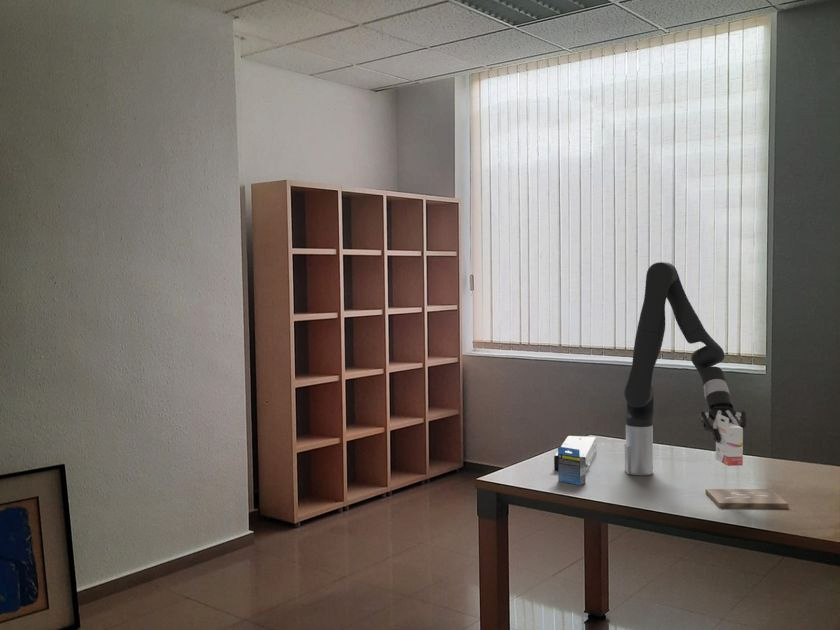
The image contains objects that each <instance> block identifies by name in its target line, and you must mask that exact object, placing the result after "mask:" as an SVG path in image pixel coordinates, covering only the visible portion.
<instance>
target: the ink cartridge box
mask: <svg viewBox="0 0 840 630" xmlns="http://www.w3.org/2000/svg"><path fill="white" fill-rule="evenodd" d="M721 419H723V420H725V422H723V421H721ZM717 425H718V426H717V429H718V431H719V435H720V442H719V443H717V442H716V441H715V460H716V461H718V462H720V463H722V464H724V465H726V466H727V467H732V466H733V467H736V466H738V467H739V466H741V467H742V466H743V465H744V461H743V460H744V456H743V455H744V452H743V451H744V449H743V447H744V444H743V443H744V441H743V440H744V431H743V428H742V427H739V426H740V425H739V426H737V425H734V424H732V423H729V418H727V417H725V416H722V415H720V414H717Z"/></svg>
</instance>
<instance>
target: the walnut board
mask: <svg viewBox="0 0 840 630" xmlns="http://www.w3.org/2000/svg"><path fill="white" fill-rule="evenodd" d="M705 495H706V496H707V497H708V498H710V500H711V501H712V502H713V503H714V504H715V506H716V507H718V509H789V502H787V501H786V500H784V498H782V497H781V496H780V495H778V494H777V493H776V492H775V491H773V490H772V489H769V488H706V489H705Z"/></svg>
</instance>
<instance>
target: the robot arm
mask: <svg viewBox="0 0 840 630" xmlns="http://www.w3.org/2000/svg"><path fill="white" fill-rule="evenodd" d="M667 301H668V303H669V305H670V307H671V310H672V312H673V316H674V318H675V322H676V324H677V325H678V327H679V329H680V331H681V333H682V335H683V337H684V338H685V340H686V342H687V343H688V344H696V343H702V344H704V346H703V347H700V348H699V349H696V350H694V351H693V352H692V353H691V356H690V359H691V363H692V364H693V366H694V367H695V369H696V371H697V372H698V374H699V376H700V378H701V382H702V386H703V394H704V398H705V401H706V405H707V412H705V411H701V412H700V415H699V420H700V421H701V423H702V427H703V428H704V430H705V431H706V432H711V433H712V436H713V440H714V442H715V443H716V442H717V443H719V442H720V435H719V431H718V429H717V426H718V425H717V414H720V415H722V416H725V417H727V418H729V423H732V424H734V425H737V426H739V427H742V428H743V432H744V431H745V429H746V427H747V418H746V417H747V416H746V415H747V414H746V412H745V411H741V412H740V411H739V412H738V411H736V410H735V408H734V405H733V402H732V398H731V397H732V396H731V394H730V390H729V387H728V385H727V382H726V379H725V374H724V371H723V370H722V368H720V367H719V366H715V365H718V364H720V363H722V362H723V361H724V359H725V352H724V349H723V348H722V347H721V346H720V345H719V344H718V343H717V342H716V341H715V340H714V339H713V337H711V335H710V334H709V333H708V332H707V330H706V329H705V327H704V325H703V324H702V321H701V319H700V318H699V316H698V314H697V313H696V311H695V310H694V307H693V306H692V304H691V302H690V300H689V298H688V296H687V294H686V292H685V290H684V287H683V285H682V281H681V279H680V276H679V273H678V270H677V268H676V266H675V265H674V264H672V263H670V262H666V261H657V262H654V263H652V264H651V265H650V266H649V268H648V270H647V271H646V277H645V289H644V296H643V302H642V303H643V304H642V307H641V311H640V315H639V319H638V324H637V328H636V334H635V337H634V346H633V351H632V352H633V354H632V364H631V368H630V371H629V372H630V373H629V375H628V378H627V381H626V385H625V388H624V391H623V392H624V393H623V395H624V399H625V400H626V414H625V443H624V471H625V472H626V474H627V475H633V476H650V475H652V474H654V455H653V454H654V450H653V449H654V440H653V433H654V432H653V431H654V430H653V428H654V427H653V426H654V425H653V422H654V421H653V420H654V401H655V400H654V397H655V395H654V394H655V393H654V388H653V387H654V386H652V381H653V380H652V379H653V374H654V369H655V366H656V364H657V361H658V358H659V355H660V352H661V349H662V346H663V341H664V336H665V333H666V302H667ZM735 417H737V419H738V420H739V423H738V421H737V419H736V418H735ZM708 418H710V419H711V420H712V422H713V423H712V425H711V424H710V421H709V419H708ZM721 421H723V422H725V420H723V419H721Z"/></svg>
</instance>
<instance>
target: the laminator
mask: <svg viewBox="0 0 840 630" xmlns="http://www.w3.org/2000/svg"><path fill="white" fill-rule="evenodd" d="M560 447H566V448H572V449H578V450H579V453H580V457H581V458H583V459H585V474H586V473H587V472H588V470H589V467H590V466H591V463H592V461H593V459H594V456H595V454H596V453H597V438H596V436H582V435H567V437H566V438H565V440H564V441H563V442H562V444H561V446H560ZM565 452H566V453H572V452H570V451H569V450H568V451H565ZM553 461H554V462H553V463H554V464H553V467H554V469H553V470H554V472H558V450H557V452H556V453H555V454H554V456H553Z"/></svg>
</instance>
